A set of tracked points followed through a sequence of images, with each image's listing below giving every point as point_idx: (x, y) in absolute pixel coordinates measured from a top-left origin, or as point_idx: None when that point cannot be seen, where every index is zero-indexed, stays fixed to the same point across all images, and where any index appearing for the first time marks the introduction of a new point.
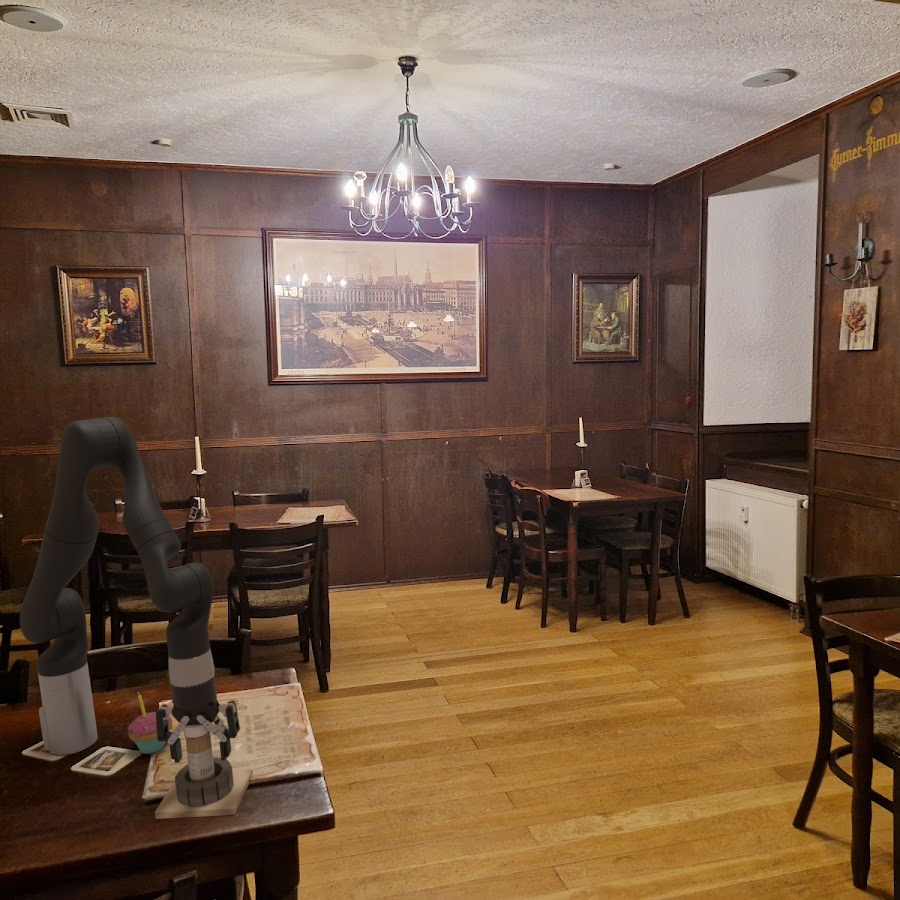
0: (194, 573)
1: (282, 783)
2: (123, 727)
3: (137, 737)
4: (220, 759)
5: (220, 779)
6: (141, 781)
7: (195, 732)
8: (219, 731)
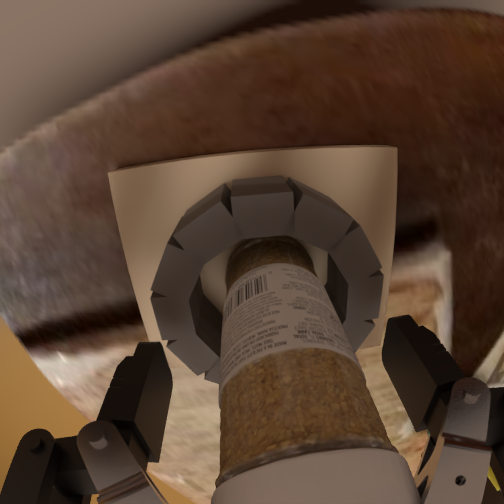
0: None
1: (64, 318)
2: None
3: None
4: None
5: (165, 264)
6: (460, 313)
7: (294, 502)
8: (102, 489)
